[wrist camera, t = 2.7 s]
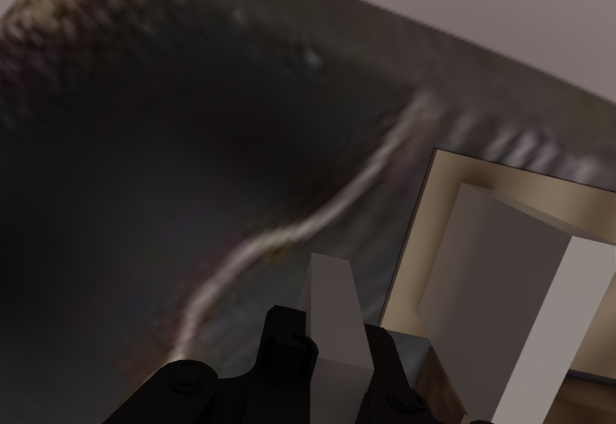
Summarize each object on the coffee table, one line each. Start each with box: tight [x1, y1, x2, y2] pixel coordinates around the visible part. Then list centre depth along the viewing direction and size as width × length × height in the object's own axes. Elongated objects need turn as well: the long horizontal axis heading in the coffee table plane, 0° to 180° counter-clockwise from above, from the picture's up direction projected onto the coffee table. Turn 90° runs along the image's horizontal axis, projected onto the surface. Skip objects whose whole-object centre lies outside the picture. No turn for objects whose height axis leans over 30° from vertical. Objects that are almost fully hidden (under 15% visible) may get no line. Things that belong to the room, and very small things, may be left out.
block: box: [416, 182, 616, 424], centre depth 19 cm, size 2×9×10 cm, turn 167°
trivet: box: [379, 149, 616, 379], centre depth 25 cm, size 20×12×1 cm, turn 77°
